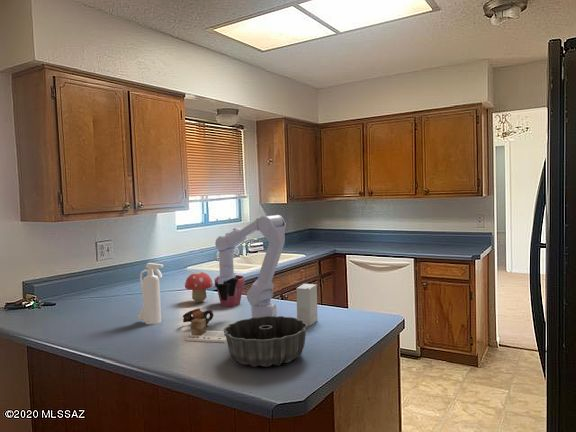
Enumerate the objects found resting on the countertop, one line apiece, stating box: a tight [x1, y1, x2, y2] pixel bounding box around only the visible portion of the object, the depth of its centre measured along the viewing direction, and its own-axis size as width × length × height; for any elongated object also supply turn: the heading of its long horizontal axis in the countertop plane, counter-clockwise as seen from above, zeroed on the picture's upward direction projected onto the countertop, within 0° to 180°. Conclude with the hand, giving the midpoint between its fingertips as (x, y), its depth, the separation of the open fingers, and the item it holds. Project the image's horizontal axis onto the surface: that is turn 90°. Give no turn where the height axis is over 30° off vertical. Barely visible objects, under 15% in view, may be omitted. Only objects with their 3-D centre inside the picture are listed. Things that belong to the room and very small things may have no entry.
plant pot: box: [214, 274, 246, 307], centre depth 213 cm, size 14×14×13 cm
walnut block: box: [190, 318, 207, 335], centre depth 166 cm, size 4×4×5 cm
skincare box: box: [296, 283, 319, 327], centre depth 177 cm, size 8×6×15 cm
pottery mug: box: [182, 307, 214, 328], centre depth 179 cm, size 12×10×8 cm
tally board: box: [185, 330, 227, 344], centre depth 164 cm, size 15×10×1 cm, turn 76°
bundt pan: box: [223, 315, 309, 368], centre depth 141 cm, size 26×26×10 cm
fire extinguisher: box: [137, 262, 165, 325], centre depth 186 cm, size 7×12×25 cm, turn 72°
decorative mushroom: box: [184, 271, 214, 303], centre depth 219 cm, size 13×13×15 cm
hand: (227, 298), depth 184 cm, fingers open, 7 cm apart
